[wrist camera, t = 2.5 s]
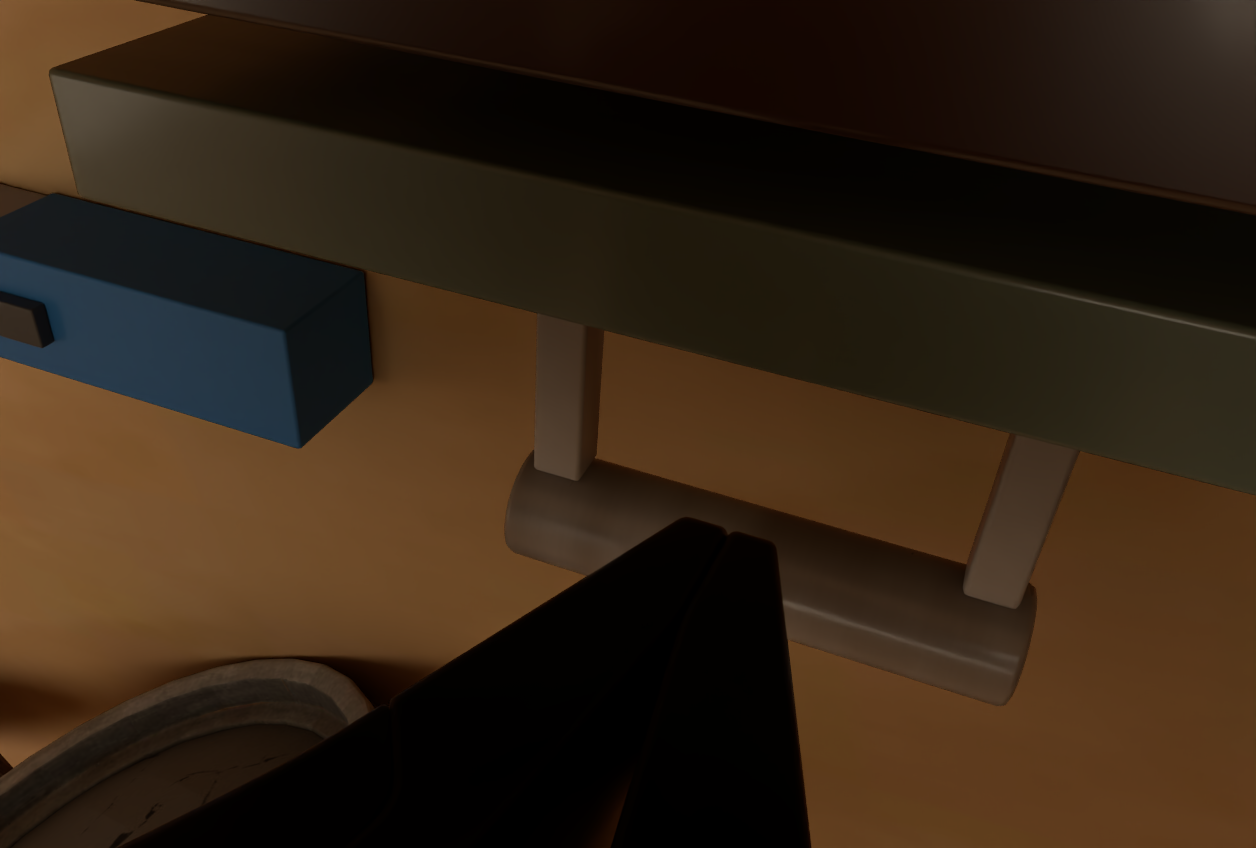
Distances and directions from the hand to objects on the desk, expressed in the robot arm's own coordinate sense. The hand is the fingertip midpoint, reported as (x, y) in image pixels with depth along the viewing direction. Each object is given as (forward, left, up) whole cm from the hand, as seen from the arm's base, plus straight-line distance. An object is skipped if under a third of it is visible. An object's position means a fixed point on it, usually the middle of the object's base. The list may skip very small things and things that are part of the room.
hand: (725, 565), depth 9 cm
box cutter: (-4, +13, -8) cm, 16 cm away
